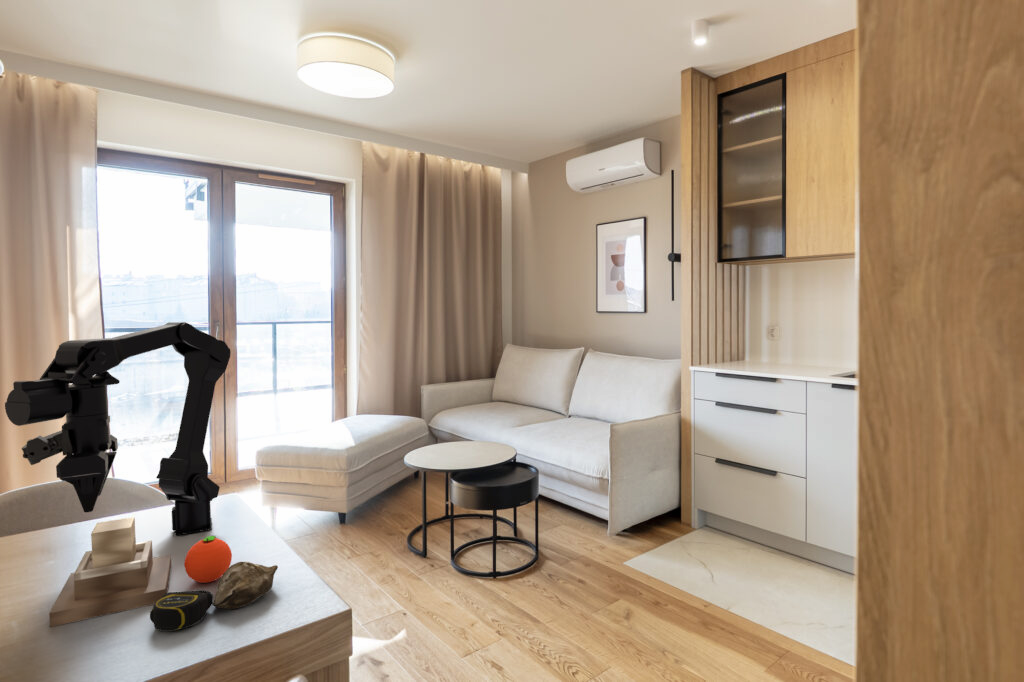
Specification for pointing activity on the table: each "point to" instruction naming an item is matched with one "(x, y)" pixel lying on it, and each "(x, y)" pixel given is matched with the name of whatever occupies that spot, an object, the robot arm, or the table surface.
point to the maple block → (113, 542)
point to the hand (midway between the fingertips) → (92, 503)
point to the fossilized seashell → (243, 584)
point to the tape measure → (180, 609)
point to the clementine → (208, 560)
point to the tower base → (112, 586)
